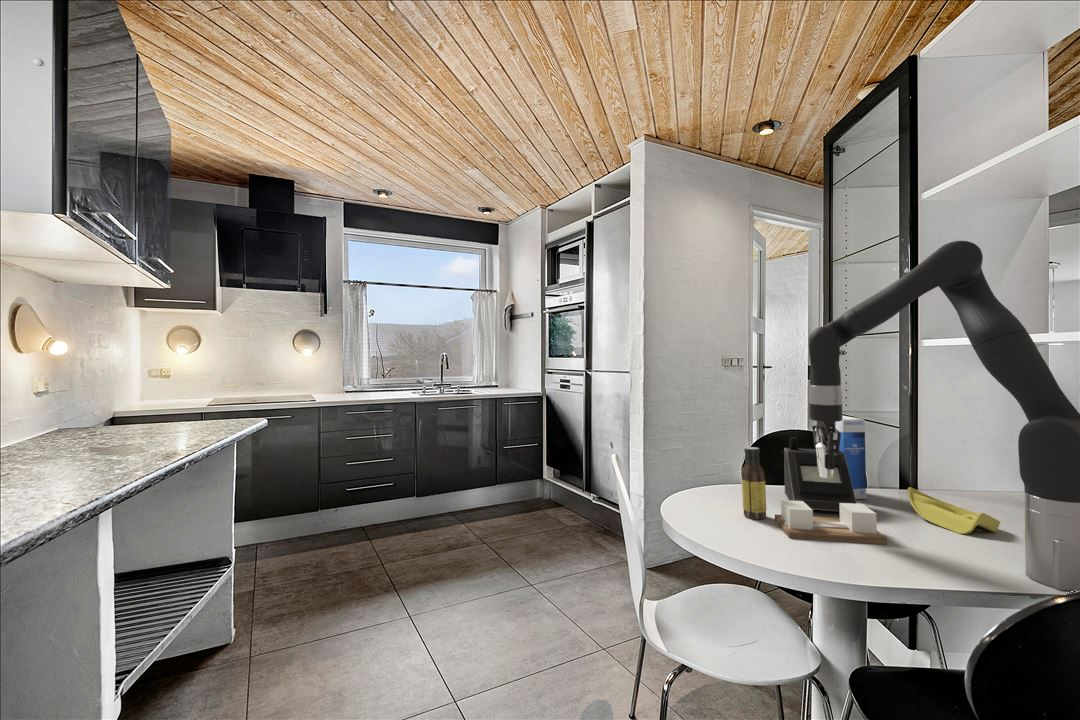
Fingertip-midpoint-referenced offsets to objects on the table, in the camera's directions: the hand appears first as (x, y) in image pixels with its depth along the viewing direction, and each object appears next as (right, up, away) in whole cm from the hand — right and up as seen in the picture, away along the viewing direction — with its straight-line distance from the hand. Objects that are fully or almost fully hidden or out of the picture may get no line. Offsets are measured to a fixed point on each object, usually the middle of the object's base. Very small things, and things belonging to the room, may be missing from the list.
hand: (826, 466), depth 125 cm
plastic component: (+37, -17, +6) cm, 41 cm away
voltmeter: (+10, -17, +20) cm, 28 cm away
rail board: (0, -17, 0) cm, 17 cm away
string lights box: (+26, -17, +34) cm, 45 cm away
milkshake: (0, -3, 0) cm, 3 cm away
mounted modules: (0, -16, 0) cm, 16 cm away
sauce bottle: (-14, -17, +12) cm, 25 cm away
